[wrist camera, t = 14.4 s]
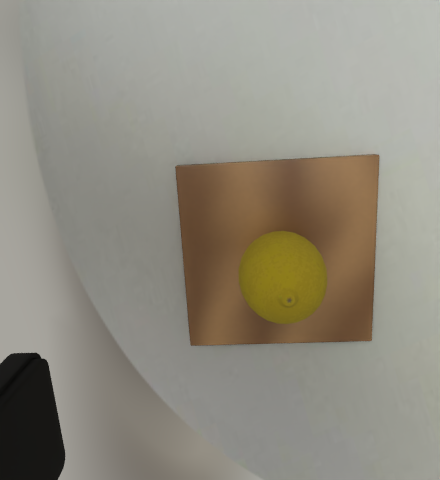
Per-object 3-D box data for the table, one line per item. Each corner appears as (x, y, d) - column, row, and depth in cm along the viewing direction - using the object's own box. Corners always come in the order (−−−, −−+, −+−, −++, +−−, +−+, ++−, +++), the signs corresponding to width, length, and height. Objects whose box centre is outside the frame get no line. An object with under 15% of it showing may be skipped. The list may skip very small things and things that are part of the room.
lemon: (299, 300, 30) (319, 358, 23) (229, 279, 30) (225, 329, 23) (326, 233, 29) (356, 269, 21) (252, 209, 29) (256, 238, 21)
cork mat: (191, 340, 33) (190, 345, 32) (176, 165, 29) (175, 166, 28) (368, 336, 32) (371, 341, 31) (375, 154, 28) (379, 154, 27)
